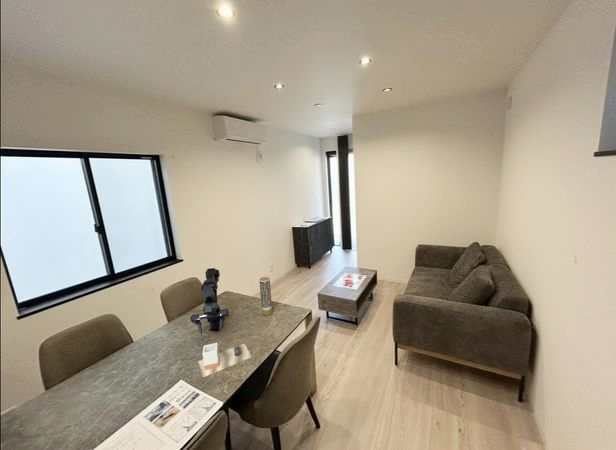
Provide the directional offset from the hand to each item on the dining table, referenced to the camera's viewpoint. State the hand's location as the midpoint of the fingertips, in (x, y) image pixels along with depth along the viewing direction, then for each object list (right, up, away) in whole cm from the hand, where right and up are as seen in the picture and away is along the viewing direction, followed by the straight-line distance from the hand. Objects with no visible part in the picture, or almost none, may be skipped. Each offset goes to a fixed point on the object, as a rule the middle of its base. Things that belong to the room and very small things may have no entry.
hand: (210, 332), depth 132 cm
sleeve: (+3, -14, -5) cm, 15 cm away
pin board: (+8, -14, -2) cm, 16 cm away
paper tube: (+23, -5, +42) cm, 48 cm away
